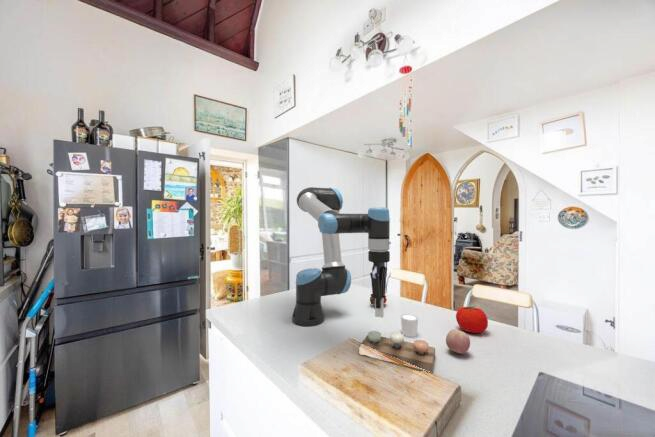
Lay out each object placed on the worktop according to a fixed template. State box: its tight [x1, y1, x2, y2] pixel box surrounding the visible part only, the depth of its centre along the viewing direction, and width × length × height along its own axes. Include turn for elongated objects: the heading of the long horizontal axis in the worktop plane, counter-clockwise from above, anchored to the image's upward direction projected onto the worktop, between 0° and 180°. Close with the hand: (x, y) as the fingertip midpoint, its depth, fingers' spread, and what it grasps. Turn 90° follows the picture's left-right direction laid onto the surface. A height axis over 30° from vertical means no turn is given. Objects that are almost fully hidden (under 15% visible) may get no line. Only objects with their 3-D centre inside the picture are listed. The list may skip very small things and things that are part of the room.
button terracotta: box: [413, 339, 429, 355], centre depth 88 cm, size 5×5×6 cm
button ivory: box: [389, 331, 405, 349], centre depth 91 cm, size 5×5×6 cm
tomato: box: [455, 305, 489, 334], centre depth 111 cm, size 12×12×10 cm
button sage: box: [367, 330, 382, 344], centre depth 95 cm, size 5×5×6 cm
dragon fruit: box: [369, 293, 388, 307], centre depth 142 cm, size 8×8×12 cm
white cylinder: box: [400, 313, 419, 338], centre depth 108 cm, size 7×7×7 cm
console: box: [361, 334, 436, 373], centre depth 91 cm, size 24×11×3 cm, turn 63°
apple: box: [445, 329, 471, 355], centre depth 93 cm, size 8×8×8 cm
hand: (379, 316), depth 94 cm, fingers closed
